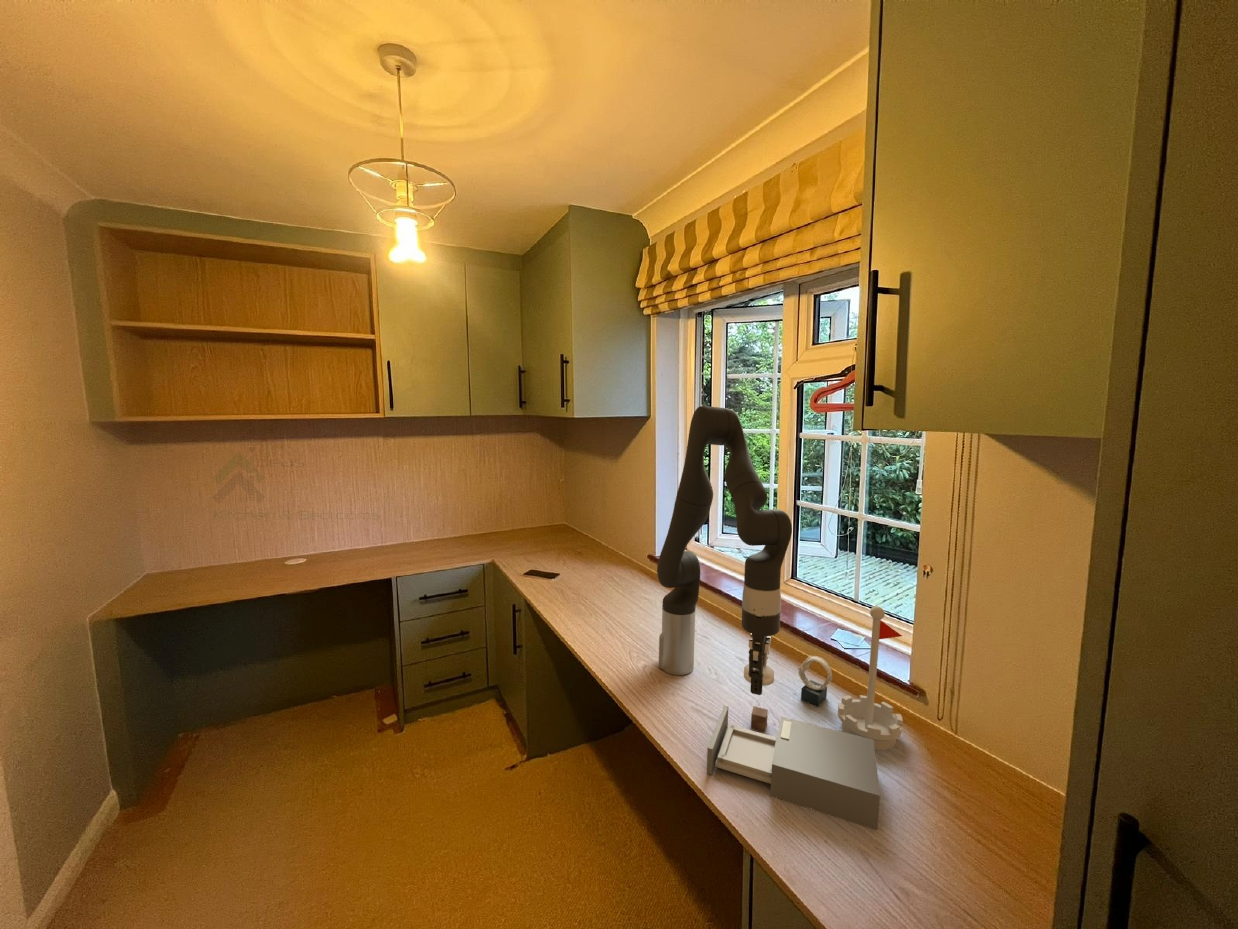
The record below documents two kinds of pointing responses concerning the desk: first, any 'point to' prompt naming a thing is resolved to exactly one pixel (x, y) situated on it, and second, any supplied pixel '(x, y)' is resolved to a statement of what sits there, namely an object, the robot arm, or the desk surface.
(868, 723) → the flag stand
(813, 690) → the watch
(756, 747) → the tray
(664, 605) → the robot arm
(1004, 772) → the desk surface
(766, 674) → the beige knobbed lid
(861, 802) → the housing
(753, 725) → the brown block
